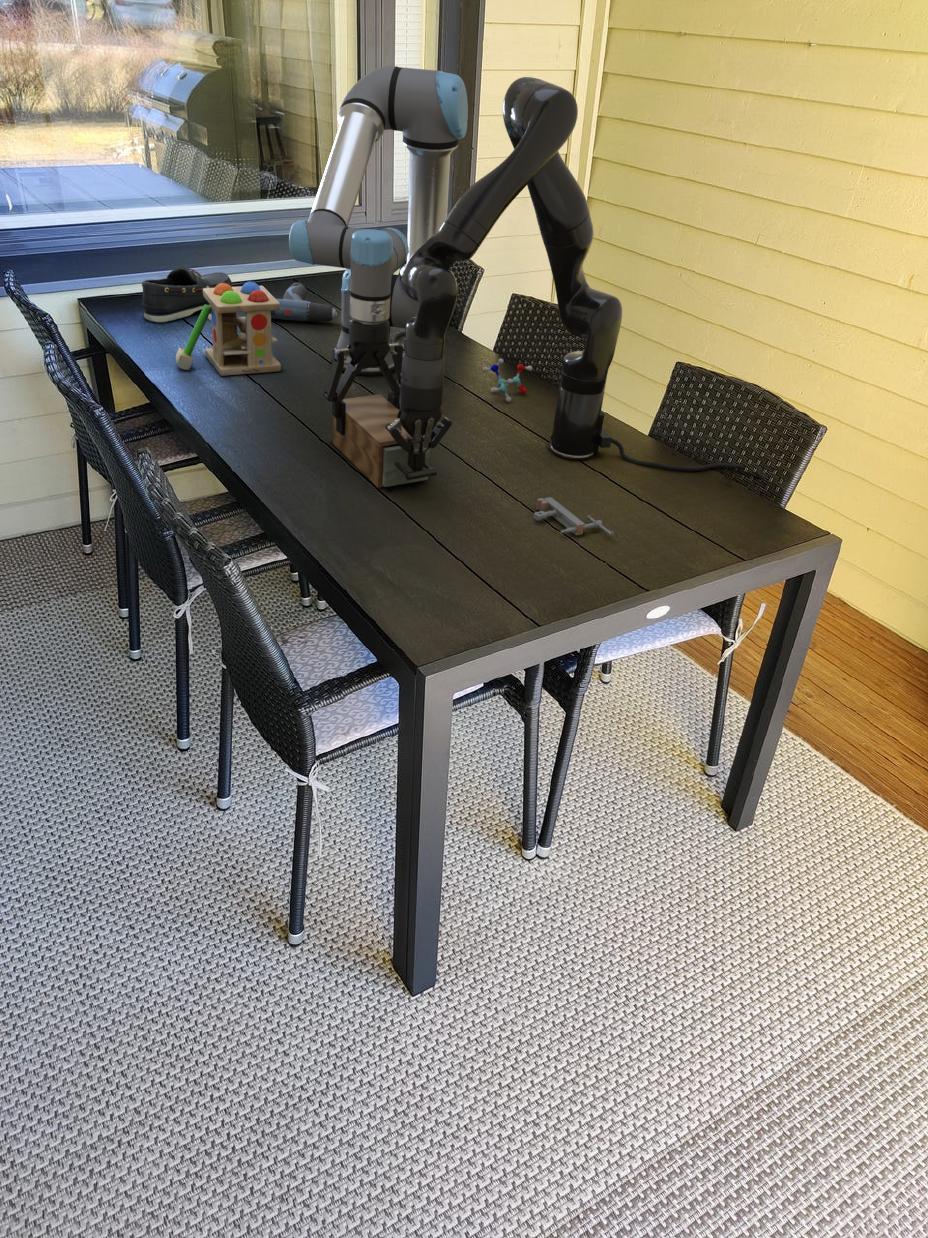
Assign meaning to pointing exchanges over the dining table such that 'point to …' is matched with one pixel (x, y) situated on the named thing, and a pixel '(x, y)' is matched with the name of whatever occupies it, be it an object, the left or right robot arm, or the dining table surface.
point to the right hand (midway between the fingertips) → (415, 469)
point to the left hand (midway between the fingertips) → (366, 428)
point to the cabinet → (367, 434)
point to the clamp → (565, 517)
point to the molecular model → (503, 383)
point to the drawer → (402, 467)
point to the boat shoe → (178, 294)
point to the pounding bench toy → (229, 347)
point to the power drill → (301, 307)
